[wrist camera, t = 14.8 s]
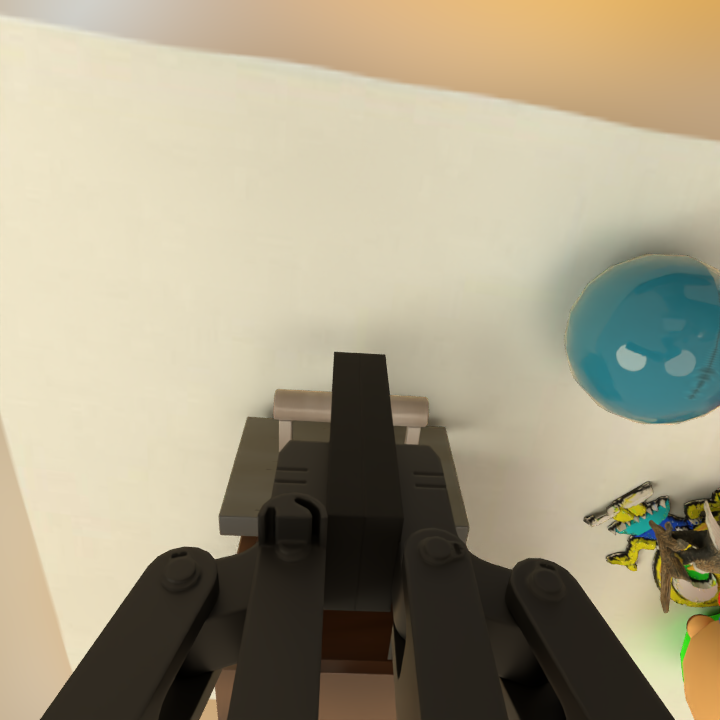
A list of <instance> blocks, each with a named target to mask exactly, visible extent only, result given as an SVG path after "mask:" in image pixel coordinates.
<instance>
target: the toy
mask: <svg viewBox="0 0 720 720" xmlns="http://www.w3.org/2000/svg"><path fill="white" fill-rule="evenodd" d="M652 495H653V489H652V485H651V483H650V482H647V483H645V484H643V485H641V486H640V487H638V488H636V489H634V490H633V491H631V492H629V493H627V494H626V495H624V496H622V497H620V498H619V499H617V500H615V501H613V504H612V505H610V506H608V507H607V513H608V514H606V515H604V516H602V517H599V518H597V519H596V518H595V517H594V516H593V515H592V516H591V517H589V518H584V522H586V523H587V524H588V525H590V526H591V527H593V526H595V525H596V526H597V525H600V524H601V523H603V522H605V521H607V520H609V519H610V518H613V519H614V520H616V521H618V522H614V523H613V525H611V526H609V527H608V530H609V531H611V532H612V533H614V534H615V535H616V532H618V533H620V534H628V535H629V534H631V537H630V538H629V539H628V540H627V541H628V542H629V545H628V546H627V548H626V553H617V554H613V555H611V556H608V557H606V559H607V560H606V561H607V562H609V563H611V564H619V565H624V566H626V567H627V568H628V569H629V570H631V571H637V565H636V564H635V562H636V560H637V558H638V551H639V550H640V549H642V548H643V549H647V550H654V549H655V548H656V549H658V551H657V552H656V554H655V557H654V561H653V568H652V569H653V574H654V579H655V583H656V585H657V587H658V589H659V590H660V591H661V557H660V551H659V546H658V541H657V538H656V537H655V532H654V531H653V529H652V528H651V527H650V525H649V521H650V520H653V521H654V522H655V523H656V524H657V525H660V526H662V527H663V528H664V529H665V530H666V528H665V523H666V522H667V521H669V522H670V523H671V525H672V527H673V529H674V530H673V531H679V530H681V531H684V530H696V531H701V530H708V527H707V524H706V516H705V517H702V515H701V514H700V512H701V511H705V510H704V503H705V501H708V504H709V508H710V511H711V513H712V515H713V517H714V519H715V520H716V521H719V518H718V517H719V515H720V488H718V489H717V490H715V491H714V492H713V493H712V498H711V499H703V500H695V501H690V502H688V503H686V504H684V513H685V515H686V517H685V518H684V519H681V518H677V517H675V516H673V515H670V514H668V512H669V511H670V504H669V498H668V496H666V497H665V498H664V497H660V498H658V499H657V500H656V501H652V502H650V503H649V504H647V503H645V502H644V501H645V500H646V498H648V497H650V496H652ZM642 506H643V507H642ZM711 507H712V508H711ZM718 507H719V508H718ZM643 509H644V510H645V511H644V510H643ZM623 512H624V513H623ZM635 513H636V514H635ZM617 514H618V515H617ZM615 516H616V517H615ZM614 517H615V518H614ZM672 521H673V522H672ZM691 523H692V524H691ZM623 531H624V532H623ZM648 537H649V538H648ZM650 538H651V539H650ZM639 542H640V543H639ZM646 544H647V545H646ZM648 545H649V546H648ZM652 545H653V546H652ZM636 546H637V547H636ZM635 547H636V548H635ZM688 548H690V549H691V548H695V549H696V547H695V546H692V545H690V544H689V545H688V547H687V548H686V549H684V550H687V549H688ZM631 557H632V558H631ZM631 560H632V561H631ZM692 564H693V563H690V564H687V565H683V566H684V567H685V569H686V571H688V572H689V573H688V572H687V573H688V575H689V578H690V580H691V582H687V581H685V580H683V579H676V578H673V577H672V578H671V592H670V597H671V598H670V599H671V600H673V601H674V602H676V603H678V604H681V605H683V604H686V605H687V606H690V607H710V606H719V603H718V595H719V592H720V587H718V586H720V581H719V580H720V579H719V578H720V574H716V575H715V573H704V574H701V573H699V572H697V571H695V570H688V569H687V567H689V566H691V565H692ZM633 566H634V567H633ZM678 580H679V582H678ZM677 583H679V584H678V585H677ZM691 584H692V585H691ZM676 586H677V587H676ZM699 588H700V590H699ZM674 591H675V592H676V593H675V592H674ZM717 594H718V595H717ZM681 599H682V600H681ZM680 600H681V601H680ZM700 602H701V603H700ZM703 602H704V603H703Z"/></svg>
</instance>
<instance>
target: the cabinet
mask: <svg viewBox="0 0 720 720" xmlns="http://www.w3.org/2000/svg"><path fill="white" fill-rule="evenodd" d="M236 667H237V664H234V665H231V666H228V667H224V668H222V672H221V674H220V676H219V678H218V680H217V682H216V685H215V691H216V702H217V712H218V720H227V716H228V711H229V705H230V700H231V694H232V689H233V683H234V678H235V672H236ZM318 720H397V718H396V703H395V688H394V673H393V661H370V660H340V659H321V673H320V695H319V717H318Z"/></svg>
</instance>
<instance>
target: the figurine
mask: <svg viewBox="0 0 720 720" xmlns="http://www.w3.org/2000/svg"><path fill="white" fill-rule="evenodd" d="M718 603H719V605H720V592H719V595H718ZM680 656H681V666H682V676H683V682H684V690H685V696H686V701H687V703H688V705H689V708H690V710H691V712H692V715H693V717H694V720H720V614H717V615H713V616H709V617H708V616H706V615H702V614H697V615H694V616H692V617H690V618H689V620H688V621H687V632H686V636H685V639H684V643H683V646H682V650H681V653H680Z"/></svg>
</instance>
